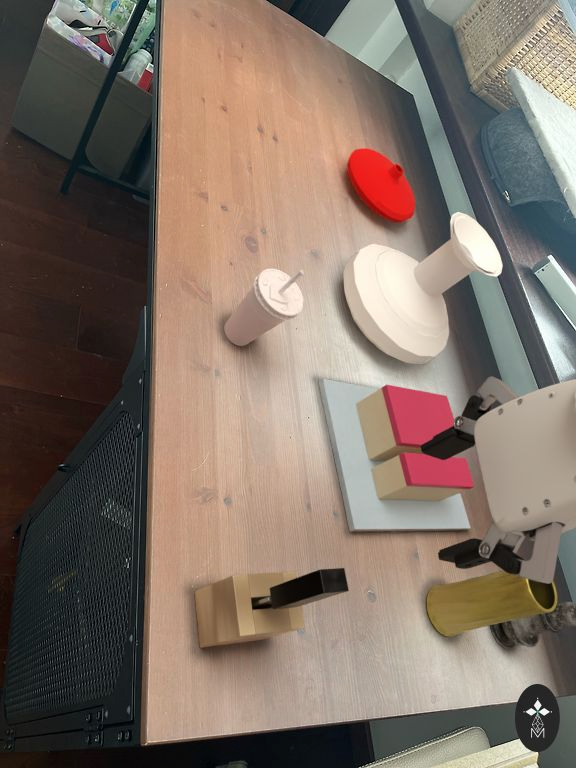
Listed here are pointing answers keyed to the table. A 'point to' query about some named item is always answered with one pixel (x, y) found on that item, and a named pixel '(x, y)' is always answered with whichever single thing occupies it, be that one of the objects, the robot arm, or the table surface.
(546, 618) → the salt shaker
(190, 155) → the table surface
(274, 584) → the knife block
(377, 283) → the candle holder
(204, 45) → the table surface
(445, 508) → the cake plate
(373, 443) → the cake
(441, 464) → the cake slice
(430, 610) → the vase
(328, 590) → the knife
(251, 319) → the smoothie
